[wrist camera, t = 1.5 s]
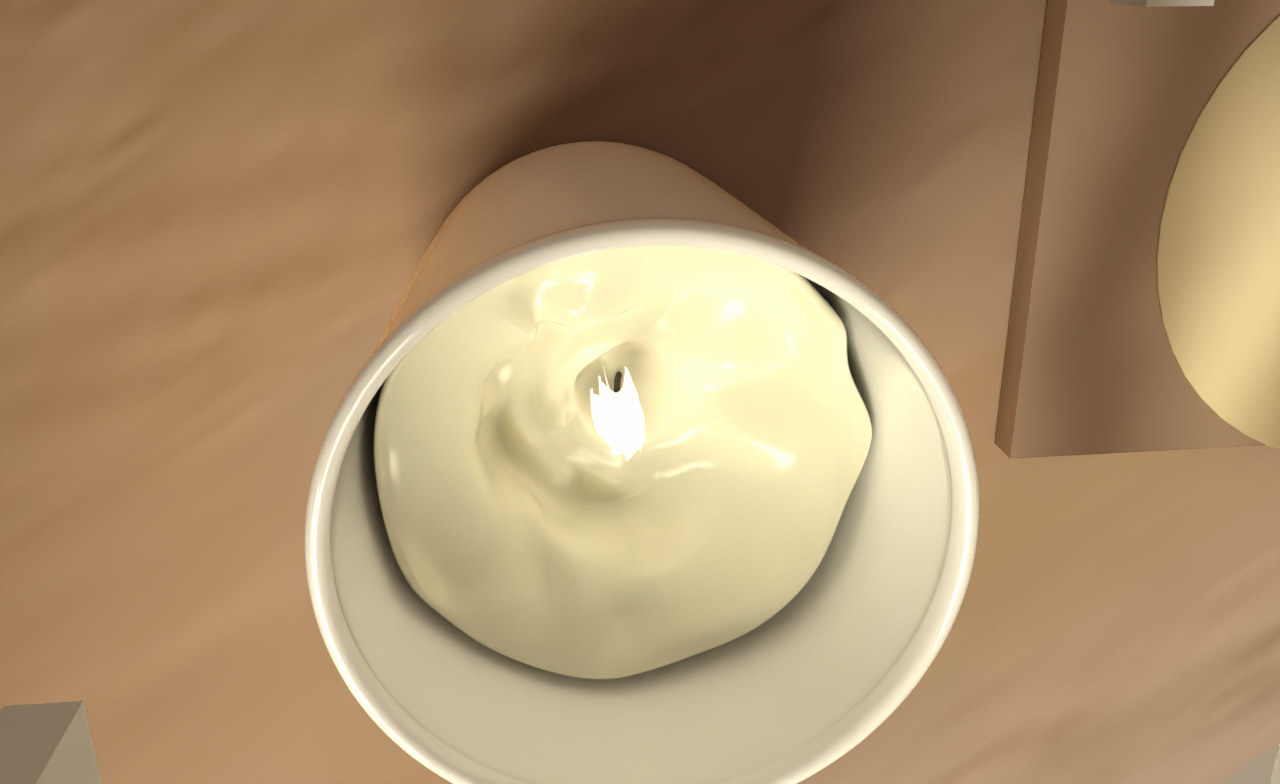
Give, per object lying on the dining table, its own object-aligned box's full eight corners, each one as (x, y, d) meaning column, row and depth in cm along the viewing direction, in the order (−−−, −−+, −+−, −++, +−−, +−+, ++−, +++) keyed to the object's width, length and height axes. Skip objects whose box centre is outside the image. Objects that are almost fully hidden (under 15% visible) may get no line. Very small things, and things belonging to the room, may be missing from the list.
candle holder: (732, 45, 26) (906, 121, 14) (833, 424, 29) (1034, 715, 18) (319, 184, 26) (178, 365, 15) (472, 543, 29) (452, 906, 18)
